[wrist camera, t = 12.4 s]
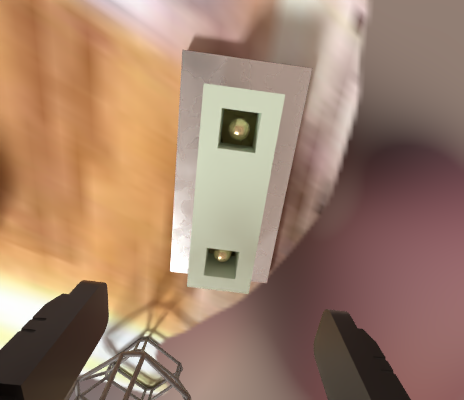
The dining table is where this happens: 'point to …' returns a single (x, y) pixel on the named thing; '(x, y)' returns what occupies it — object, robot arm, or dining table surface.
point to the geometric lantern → (113, 370)
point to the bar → (231, 188)
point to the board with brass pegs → (234, 132)
